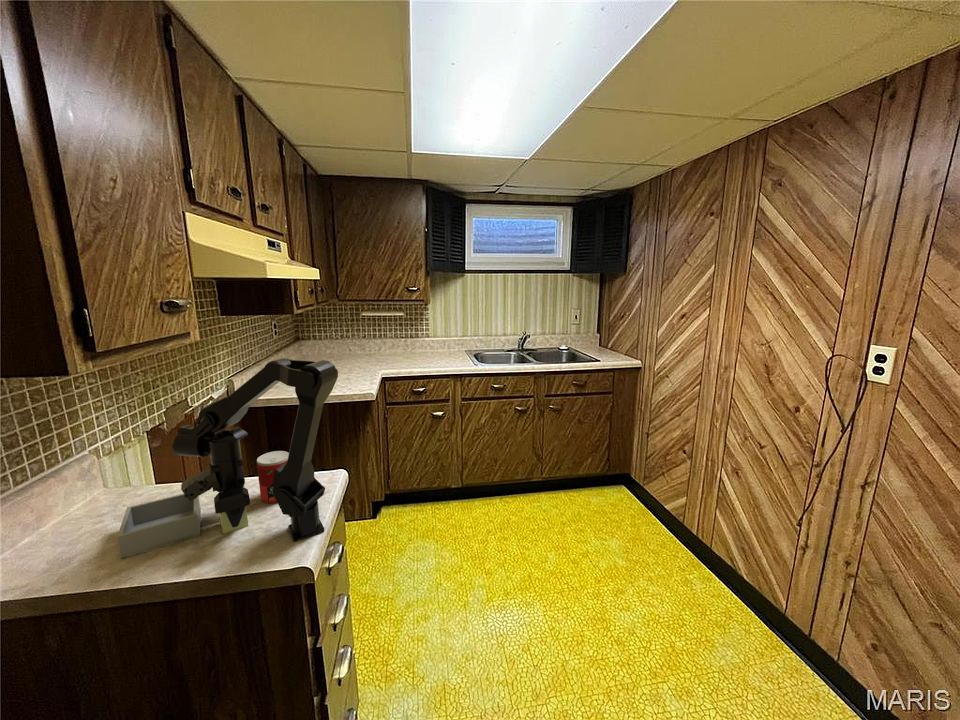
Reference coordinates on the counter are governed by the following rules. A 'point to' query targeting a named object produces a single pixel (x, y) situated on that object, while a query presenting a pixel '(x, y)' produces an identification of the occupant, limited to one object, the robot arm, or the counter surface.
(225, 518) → the green block
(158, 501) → the grey bin
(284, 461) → the canned food
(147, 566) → the counter surface
